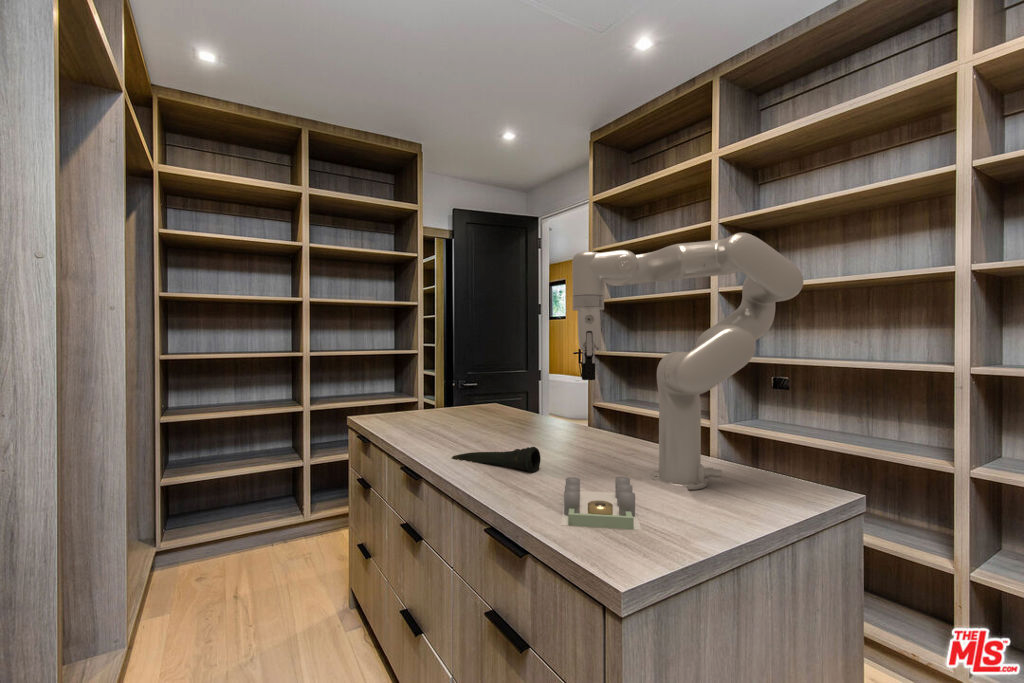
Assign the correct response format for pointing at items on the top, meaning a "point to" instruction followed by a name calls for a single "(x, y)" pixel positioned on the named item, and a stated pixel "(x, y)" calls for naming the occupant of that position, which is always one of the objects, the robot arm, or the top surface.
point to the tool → (507, 458)
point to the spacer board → (621, 500)
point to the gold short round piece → (600, 508)
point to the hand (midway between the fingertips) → (588, 379)
